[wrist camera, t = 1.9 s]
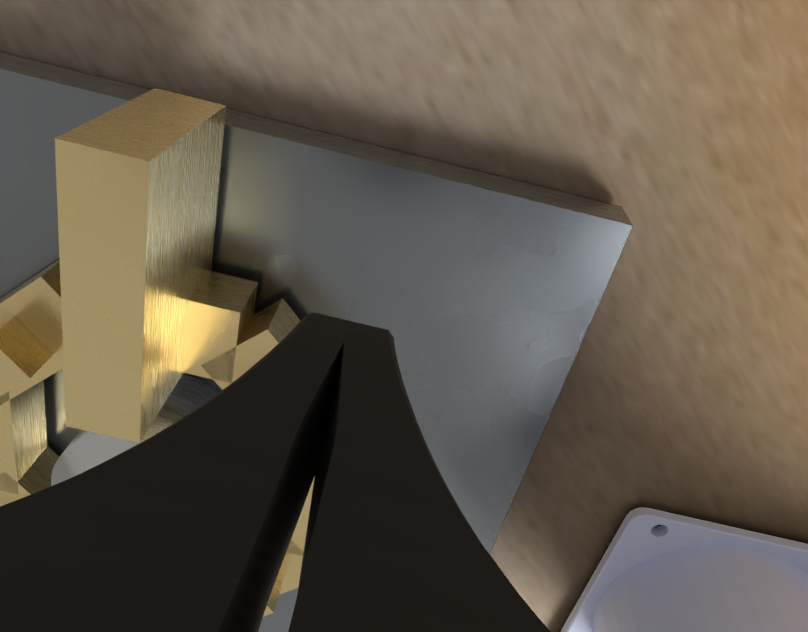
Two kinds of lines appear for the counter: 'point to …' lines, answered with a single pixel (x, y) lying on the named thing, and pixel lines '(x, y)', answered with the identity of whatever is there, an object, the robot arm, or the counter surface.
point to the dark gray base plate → (353, 274)
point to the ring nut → (131, 292)
